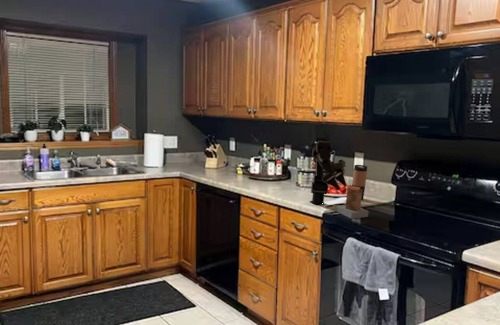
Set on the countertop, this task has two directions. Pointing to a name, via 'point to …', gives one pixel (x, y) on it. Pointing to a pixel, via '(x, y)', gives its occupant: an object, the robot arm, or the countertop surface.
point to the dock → (352, 212)
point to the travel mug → (359, 177)
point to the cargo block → (355, 188)
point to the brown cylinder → (353, 199)
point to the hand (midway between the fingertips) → (342, 187)
